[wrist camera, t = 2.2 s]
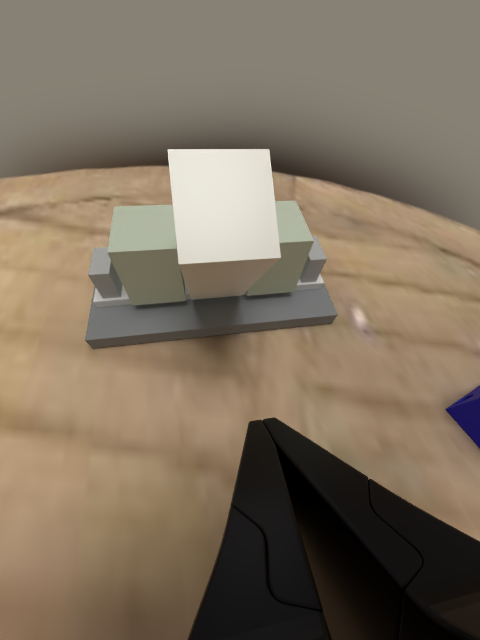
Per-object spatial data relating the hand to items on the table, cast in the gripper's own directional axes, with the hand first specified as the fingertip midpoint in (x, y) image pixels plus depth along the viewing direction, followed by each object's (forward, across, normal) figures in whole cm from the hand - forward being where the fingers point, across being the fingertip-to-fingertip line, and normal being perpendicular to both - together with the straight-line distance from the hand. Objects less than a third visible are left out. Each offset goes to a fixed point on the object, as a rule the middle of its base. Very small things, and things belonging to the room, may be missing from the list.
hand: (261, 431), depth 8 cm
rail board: (+19, 0, -2) cm, 19 cm away
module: (+17, 0, -5) cm, 17 cm away
